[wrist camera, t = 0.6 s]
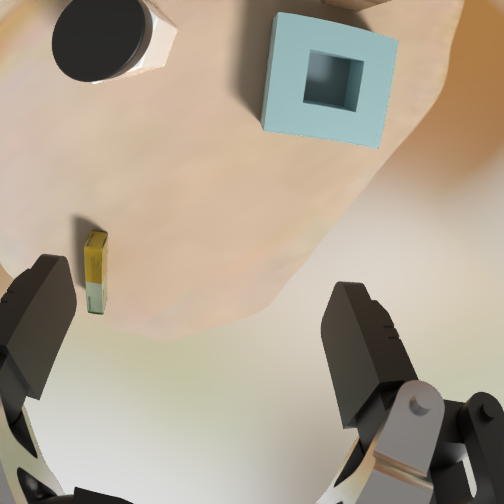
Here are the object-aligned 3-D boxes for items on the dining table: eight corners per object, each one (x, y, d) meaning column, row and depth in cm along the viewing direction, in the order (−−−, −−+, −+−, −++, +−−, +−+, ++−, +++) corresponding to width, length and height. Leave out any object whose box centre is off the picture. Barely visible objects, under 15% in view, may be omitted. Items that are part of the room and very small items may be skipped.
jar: (171, -3, 25) (141, -32, 15) (185, 62, 29) (159, 61, 19) (96, 22, 25) (40, 13, 15) (109, 85, 30) (57, 98, 20)
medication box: (108, 297, 46) (103, 316, 43) (92, 294, 45) (86, 313, 42) (109, 232, 40) (102, 249, 37) (90, 229, 39) (82, 246, 36)
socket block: (272, 19, 27) (278, 11, 23) (378, 41, 28) (398, 40, 24) (260, 122, 33) (263, 131, 29) (362, 137, 34) (378, 148, 30)
